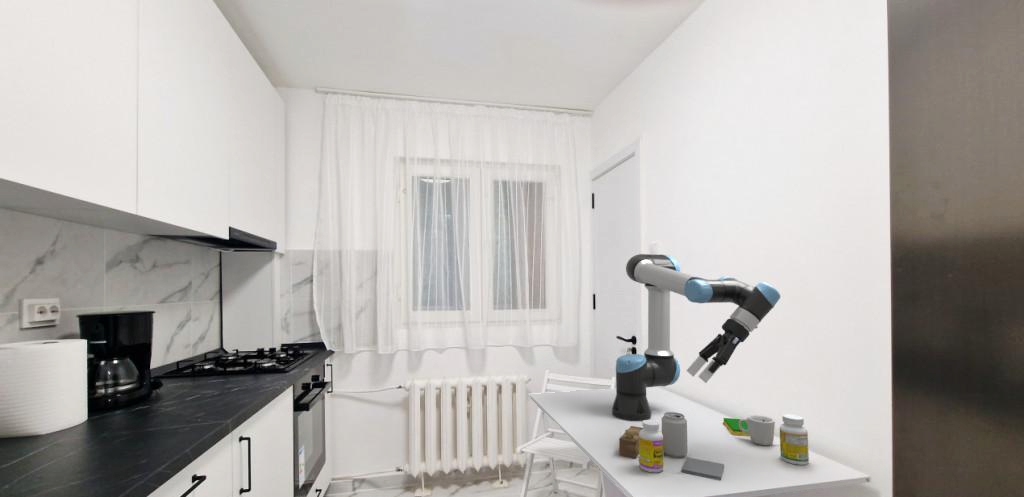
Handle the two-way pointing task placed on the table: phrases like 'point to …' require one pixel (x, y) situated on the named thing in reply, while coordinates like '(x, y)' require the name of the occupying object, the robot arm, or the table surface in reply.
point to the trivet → (703, 468)
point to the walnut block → (630, 442)
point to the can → (674, 434)
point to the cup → (759, 429)
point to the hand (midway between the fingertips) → (695, 376)
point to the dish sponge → (735, 426)
